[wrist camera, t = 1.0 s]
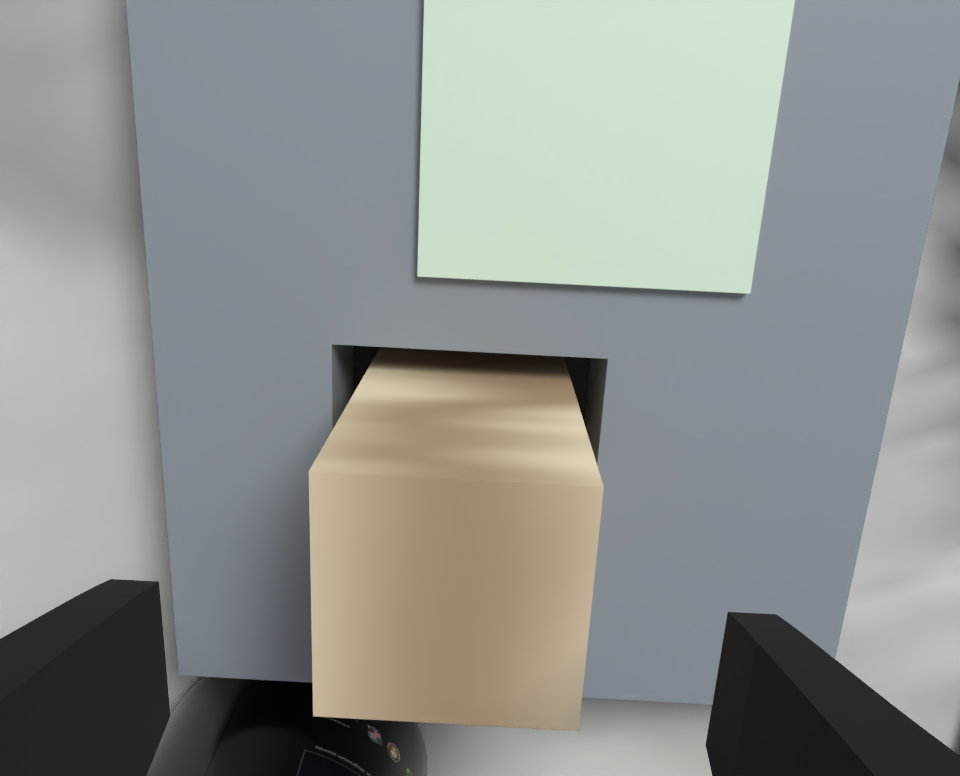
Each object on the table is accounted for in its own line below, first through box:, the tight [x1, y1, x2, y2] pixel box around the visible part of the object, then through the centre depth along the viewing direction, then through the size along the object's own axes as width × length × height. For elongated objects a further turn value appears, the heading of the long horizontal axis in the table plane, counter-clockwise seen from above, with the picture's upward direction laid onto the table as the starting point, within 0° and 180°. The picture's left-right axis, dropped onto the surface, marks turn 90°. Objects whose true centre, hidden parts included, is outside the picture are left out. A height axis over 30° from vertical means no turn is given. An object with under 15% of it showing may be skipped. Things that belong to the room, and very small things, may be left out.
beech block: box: [309, 347, 604, 731], centre depth 15 cm, size 4×4×7 cm
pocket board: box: [126, 0, 960, 705], centre depth 16 cm, size 14×16×3 cm
